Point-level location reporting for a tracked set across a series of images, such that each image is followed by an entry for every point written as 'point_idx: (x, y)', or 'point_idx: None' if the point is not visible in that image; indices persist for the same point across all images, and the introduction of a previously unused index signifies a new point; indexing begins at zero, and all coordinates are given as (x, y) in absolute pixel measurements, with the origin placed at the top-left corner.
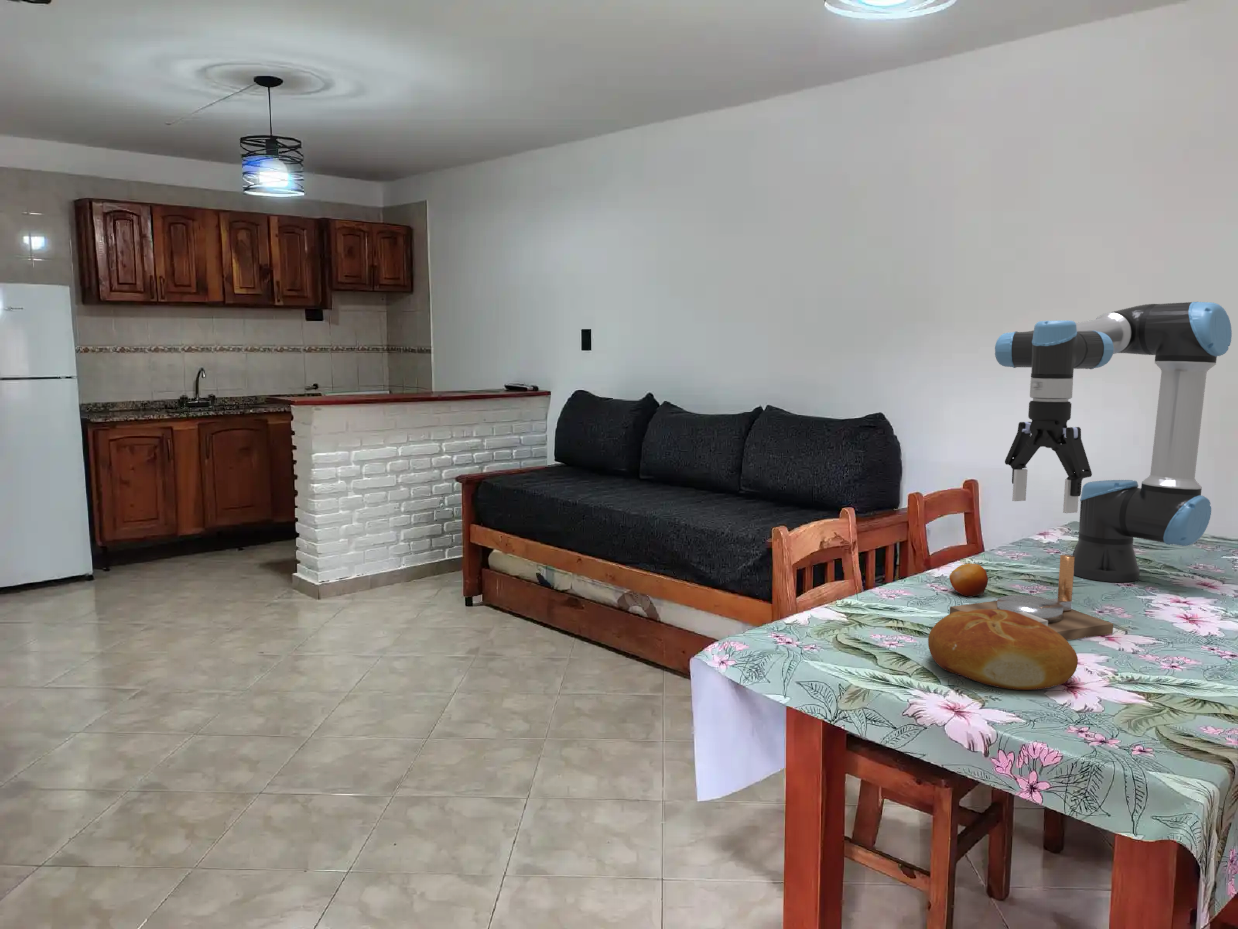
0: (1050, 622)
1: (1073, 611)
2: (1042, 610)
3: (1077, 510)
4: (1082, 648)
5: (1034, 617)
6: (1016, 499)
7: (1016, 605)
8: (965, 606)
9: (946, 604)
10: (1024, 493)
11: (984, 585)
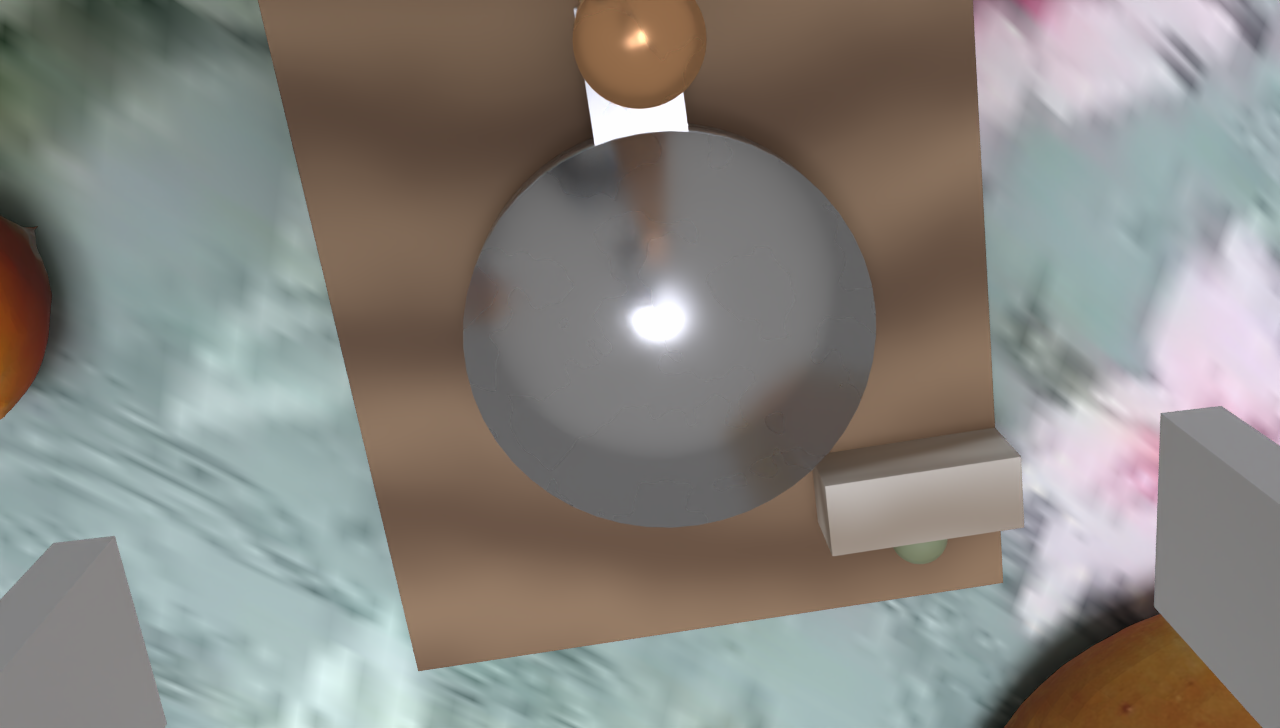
0: None
1: None
2: (824, 353)
3: (1238, 418)
4: (1098, 268)
5: (943, 494)
6: (151, 717)
7: (686, 445)
8: (430, 588)
9: (194, 543)
10: (73, 632)
11: (14, 250)
